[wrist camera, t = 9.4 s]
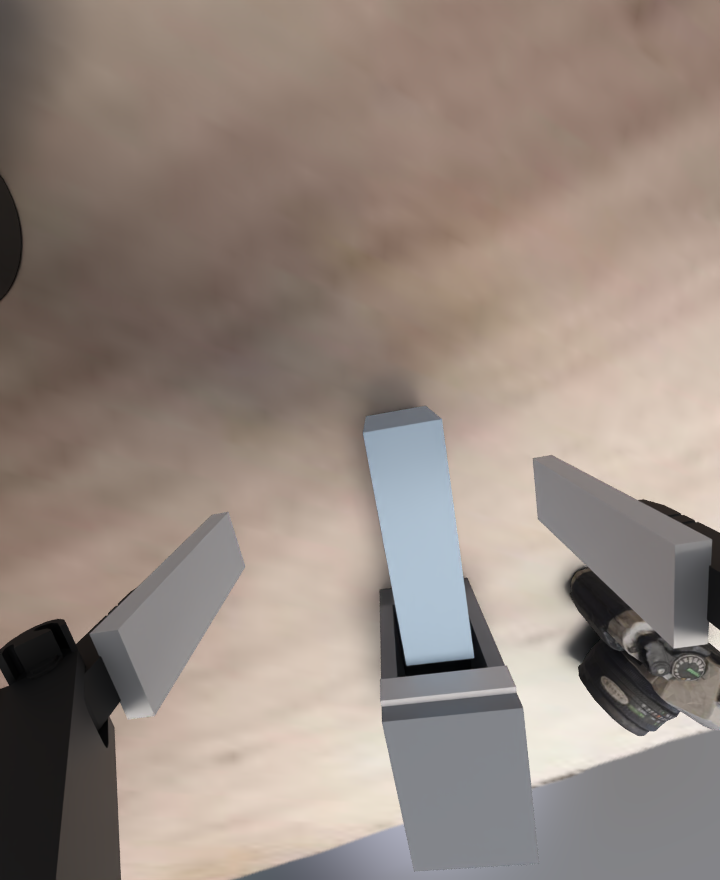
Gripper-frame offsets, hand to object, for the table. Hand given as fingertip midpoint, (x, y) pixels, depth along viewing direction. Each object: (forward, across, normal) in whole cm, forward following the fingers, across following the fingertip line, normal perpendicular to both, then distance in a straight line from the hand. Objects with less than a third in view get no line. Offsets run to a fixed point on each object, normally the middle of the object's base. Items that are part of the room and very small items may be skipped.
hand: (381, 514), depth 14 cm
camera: (+17, +20, -25) cm, 37 cm away
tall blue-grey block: (+15, +2, -7) cm, 16 cm away
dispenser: (+17, +2, -24) cm, 29 cm away
